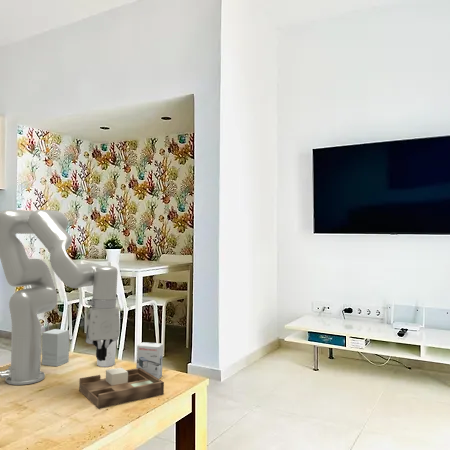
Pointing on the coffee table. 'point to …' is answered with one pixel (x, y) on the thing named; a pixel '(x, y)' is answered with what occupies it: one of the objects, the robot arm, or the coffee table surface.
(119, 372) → the ivory block
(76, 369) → the coffee table surface
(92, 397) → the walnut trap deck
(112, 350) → the light grey cylinder
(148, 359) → the ink box
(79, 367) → the coffee table surface
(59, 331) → the supplement box
